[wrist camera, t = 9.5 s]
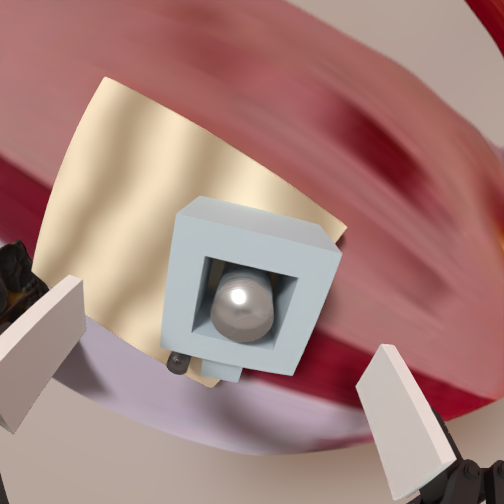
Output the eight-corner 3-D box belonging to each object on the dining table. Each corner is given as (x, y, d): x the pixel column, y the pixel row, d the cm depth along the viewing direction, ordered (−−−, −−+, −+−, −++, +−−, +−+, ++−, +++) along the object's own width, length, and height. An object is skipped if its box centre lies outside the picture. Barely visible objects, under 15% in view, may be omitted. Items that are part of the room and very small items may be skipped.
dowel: (172, 343, 22) (163, 367, 19) (181, 331, 22) (171, 355, 19) (189, 353, 22) (181, 377, 20) (198, 341, 22) (191, 366, 19)
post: (217, 270, 20) (199, 323, 14) (240, 235, 19) (232, 277, 13) (253, 292, 20) (250, 350, 14) (278, 259, 19) (286, 310, 13)
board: (41, 264, 22) (31, 271, 20) (114, 80, 17) (104, 76, 15) (213, 377, 25) (211, 388, 24) (341, 221, 20) (347, 227, 18)
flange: (199, 195, 18) (176, 213, 13) (320, 224, 18) (342, 253, 13) (175, 351, 22) (157, 398, 17) (268, 371, 23) (269, 421, 18)
